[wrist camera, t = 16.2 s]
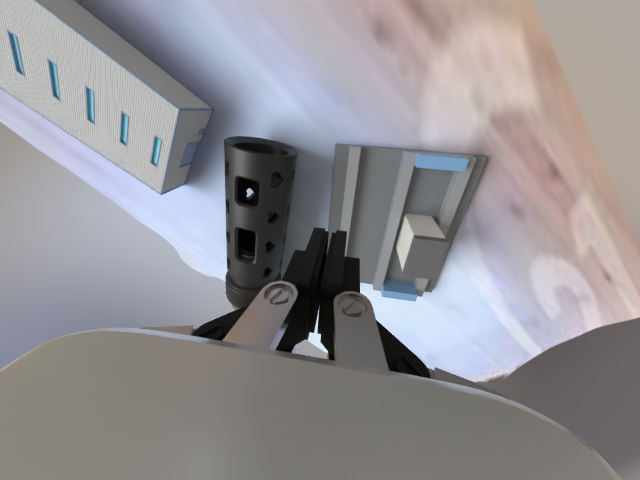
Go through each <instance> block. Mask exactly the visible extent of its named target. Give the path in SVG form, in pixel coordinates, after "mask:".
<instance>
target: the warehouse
mask: <svg viewBox="0 0 640 480" xmlns="http://www.w3.org/2000/svg"><path fill="white" fill-rule="evenodd" d="M0 89H2V90H3V91H5V92H6V93H8V94H9V95H11V96H12V97H14V98H15V99H17V100H18V101H20V102H21V103H23V104H24V105H26V106H27V107H29V108H30V109H32V110H34V111H35V112H37V113H38V114H40V115H41V116H43V117H44V118H46V119H47V120H49V121H50V122H52V123H53V124H55V125H56V126H58V127H59V128H61V129H62V130H64V131H65V132H67V133H68V134H70V135H71V136H73V137H74V138H76V139H77V140H79V141H80V142H82V143H83V144H85V145H86V146H88V147H89V148H91V149H92V150H94V151H95V152H97V153H98V154H100V155H101V156H103V157H104V158H106V159H107V160H109V161H110V162H112V163H113V164H115V165H116V166H118V167H120V168H121V169H123V170H124V171H126V172H127V173H129V174H130V175H132V176H133V177H135V178H136V179H138V180H139V181H141V182H142V183H144V184H145V185H147V186H148V187H150V188H151V189H153V190H154V191H156V192H157V193H159V194H160V195H162V194H164V193H167V192H169V191H171V190H174V189H176V188H178V187H180V186H183V185H184V182H185V180H186V177H187V175H188V172H189V169H190V167H191V164H192V163H191V161H192V159H193V156H194V154H195V151H196V149H197V146H198V143H199V142H200V141H201V139H202V136H203V132H204V129H206V126H207V124H208V121H209V119H210V116H211V114H212V111H213V110H214V109H213V108H211V107H210V106H208V105H207V104H206V103H205V102H203V101H202V100H201V99H200V98H198V97H197V96H196V95H194V94H193V93H192V92H191V91H189V90H188V89H187V88H186V87H184V86H183V85H182V84H180V83H179V82H178V81H177V80H175V79H174V78H173V77H171V76H170V75H169V74H168V73H166V72H165V71H164V70H163V69H161V68H160V67H159V66H157V65H156V64H155V63H154V62H152V61H151V60H150V59H149V58H147V57H146V56H145V55H143V54H142V53H141V52H140V51H138V50H137V49H136V48H134V47H133V46H132V45H131V44H129V43H128V42H127V41H126V40H124V39H123V38H122V37H120V36H119V35H118V34H117V33H115V32H114V31H113V30H112V29H110V28H109V27H108V26H106V25H105V24H104V23H103V22H101V21H100V20H99V19H97V18H96V17H95V16H94V15H92V14H91V13H90V12H89V11H87V10H86V9H85V8H83V7H82V6H81V5H80V4H78V3H77V2H76V1H75V0H0ZM88 90H89V91H88ZM89 114H90V115H89ZM153 154H154V155H153ZM152 160H153V161H152Z"/></svg>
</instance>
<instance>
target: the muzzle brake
mask: <svg viewBox="0 0 640 480" xmlns="http://www.w3.org/2000/svg"><path fill="white" fill-rule="evenodd" d="M224 151H225V195H226V239H227V269H228V271H227V274H226V295H227V298H228V300H229V301H230V302H231V304H232V306H233V308H234V309H235V310H238V309H240V308H242V307H244V306H247V305H249V304H251V303H252V302H253V300H254V299H255V298H256V296H257V295H258V294H259V292H260V291H261V290H262V289H263V288H264V287H265V286H266V285H268V284H269V283H272V282H276V281H281V274H280V270H281V265H282V258H283V251H284V244H285V237H286V230H287V223H288V216H289V208H290V202H291V195H292V187H293V180H294V173H295V166H296V159H297V151H296V150H295V149H294V148H292V147H290V146H288V145H285V144H283V143H279V142H275V141H271V140H267V139H262V138H255V137H244V136H236V137H229V138H227V139H225V140H224ZM248 188H251V189H252V190H253V192H254V193H252V194H251V195H250V196H249V197H246V196H247V192H246V190H247V189H248Z"/></svg>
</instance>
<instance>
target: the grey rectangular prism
mask: <svg viewBox="0 0 640 480" xmlns="http://www.w3.org/2000/svg"><path fill="white" fill-rule="evenodd" d="M448 244H449V242H448V240H447V239H446V237H445V236H444V234H443V233H442V231H441V230H440V228H439V227H438V225H437V224H436V222H435V221H434V219H433V218H432V216H427V215H418V214H409V213H404V217H403V220H402V224H401V228H400V231H399V235H398V239H397V242H396V249H397V253H398V257H399V260H400V264H401V268H402V272H403V276H407V277H415V278H422V279H429V280H434V278H435V275H436V273H437V271H438V268H439V266H440V263H441V261H442V258H443V256H444V254H445V251H446V249H447V246H448Z"/></svg>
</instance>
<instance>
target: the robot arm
mask: <svg viewBox="0 0 640 480" xmlns="http://www.w3.org/2000/svg"><path fill="white" fill-rule="evenodd" d="M328 238H329V232H325V229H324V228H315V227H314V230H313V232H312V235H311V238H310V240H309V243H308V246H307V248H306V251H301V250H295V252H294V254H293V256H292V259H291V261H290V263H289V265H288V267H287V270H286V272H285V274H284V276H283V279H282V281H276V282H272V283H269V284H268V285H266V286H265V287H264V288H263V289H262V290H261V291H260V292H259V294H258V295H257V296H256V298H255V299H254V300H253V302H252V303H251V304H249V305H247V306H244V307H242V308H240V309H238V310H235V311H233V312H231V313H228V314H226V315H224V316H221V317H219V318H217V319H214V320H212V321H210V322H207V323H205V324H204V325H202V326H200V327H199V328H198V329H195V327H194V326H173V327H149V328H108V329H107V328H106V329H95V330H89V331H83V332H77V333H73V334H69V335H65V336H62V337H58V338H55V339H53V340H51V341H48V342H46V343H43V344H42V345H40V346H38V347H36V348H34V349H32V350H31V351H29V352H27V353H26V354H24V355H23V356H21V357H19V358H18V359H16V360H14V361H13V362H11V363H10V364H8V365H7V366H5V367H4V368H2V369H1V370H0V480H622V479H621V478H620V477H619V476H618V474H617V473H616V472H615V471H614V470H613V469H612V468H611V467H610V466H609V464H608V463H607V462H606V461H605V460H604V459H603V458H602V457H601V456H600V455H599V454H598V453H597V452H596V451H595V450H594V449H593V448H591V447H590V446H589V445H588V444H587V443H585V442H584V441H583V440H581V439H580V438H579V437H578V436H576V435H575V434H573V433H572V432H570V431H569V430H567V429H566V428H564V427H563V426H561V425H559V424H558V423H556V422H554V421H553V420H551V419H549V418H547V417H545V416H543V415H541V414H539V413H537V412H536V411H534V410H532V409H529V408H528V407H526V406H523V405H521V404H518V403H516V402H513V401H511V400H510V399H509V398H508V397H506V396H505V395H503V394H501V393H500V392H498V391H496V390H493V389H490V388H488V387H485V386H483V385H480V384H477V383H475V382H472V381H469V380H467V379H464V378H462V377H459V376H456V375H454V374H451V373H449V372H446V371H443V370H441V369H438V368H434V370H432V369H429V368H427V367H426V365H425V364H424V363H423V362H422V361H421V360H420V359H419V358H418V357H417V356H416V355H415V354H414V353H413V352H411V351H410V350H409V349H408V348H407V347H406V346H405V345H404V344H402V343H401V342H400V341H399V340H398V339H397V338H396V337H395V336H394V335H392V334H391V333H390V332H389V331H388V330H387V329H386V328H385V327H383V326H382V325H381V324H380V323H379V322H378V321H377V320H376V319H375V315H374V311H373V307H372V304H371V302H370V300H369V299H368V298H367V297H366V296H364V295H363V294H361V293H360V258H354V257H347V256H345V249H346V239H347V231H340V230H337V231H336V233H334V232H332V235H331V240H330V244H329V249H328ZM327 250H328V253H327ZM319 305H320V306H319ZM318 310H319V320H318V334H321V343H322V344H323V345H324V347H325V348H326V349H327V350H328V355H327V357H328V358H327V359H322V358H316V357H311V356H305V355H300V354H295V352H296V349H297V344H298V343H300V342H301V341H303V340H305V339H306V340H308V336H309V332H312V333H314V330H315V325H316V320H317V315H318Z"/></svg>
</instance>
